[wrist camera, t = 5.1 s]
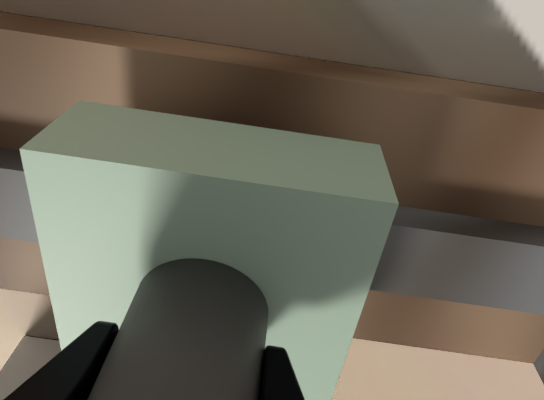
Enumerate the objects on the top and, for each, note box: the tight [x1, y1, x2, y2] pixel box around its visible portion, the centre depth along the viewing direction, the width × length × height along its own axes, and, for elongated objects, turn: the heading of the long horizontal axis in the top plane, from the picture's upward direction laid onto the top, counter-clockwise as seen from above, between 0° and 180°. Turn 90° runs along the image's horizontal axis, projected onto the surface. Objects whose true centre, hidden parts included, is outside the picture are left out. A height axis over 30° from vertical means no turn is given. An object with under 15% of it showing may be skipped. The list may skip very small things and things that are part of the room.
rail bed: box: [0, 12, 544, 384], centre depth 12 cm, size 24×9×4 cm, turn 83°
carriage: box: [19, 100, 399, 400], centre depth 9 cm, size 7×7×8 cm
